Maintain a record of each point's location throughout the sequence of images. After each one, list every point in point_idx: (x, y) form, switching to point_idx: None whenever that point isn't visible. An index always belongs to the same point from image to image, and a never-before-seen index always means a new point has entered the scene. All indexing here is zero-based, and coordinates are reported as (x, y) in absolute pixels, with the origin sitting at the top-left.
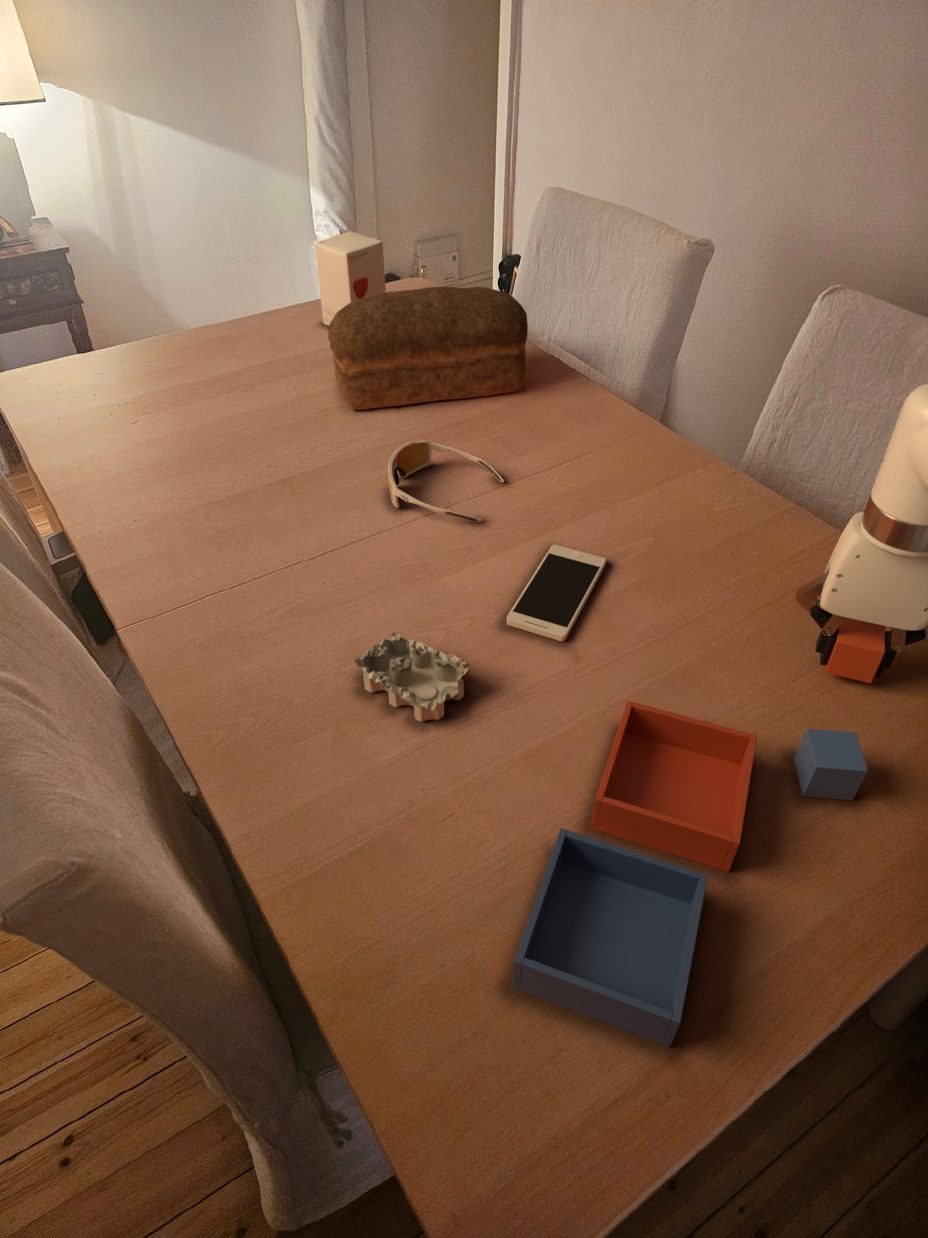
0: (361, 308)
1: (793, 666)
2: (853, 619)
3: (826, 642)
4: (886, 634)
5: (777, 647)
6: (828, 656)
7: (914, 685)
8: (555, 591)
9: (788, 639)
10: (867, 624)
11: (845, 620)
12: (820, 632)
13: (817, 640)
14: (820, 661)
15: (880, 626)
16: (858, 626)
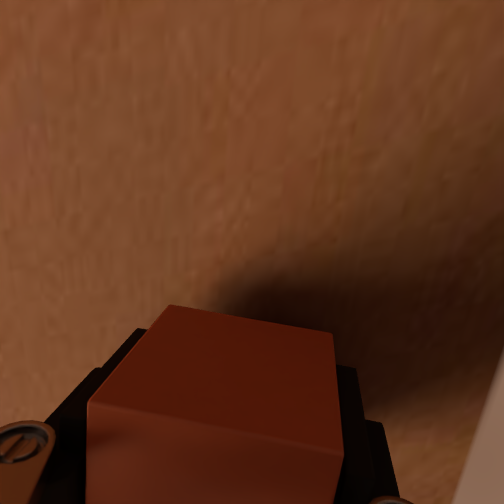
0: None
1: (84, 367)
2: (160, 436)
3: None
4: (342, 500)
5: (27, 290)
6: None
7: (477, 392)
8: None
9: (57, 242)
10: (236, 467)
11: (117, 448)
12: (65, 403)
13: (91, 373)
14: None
15: (309, 479)
16: (185, 486)
